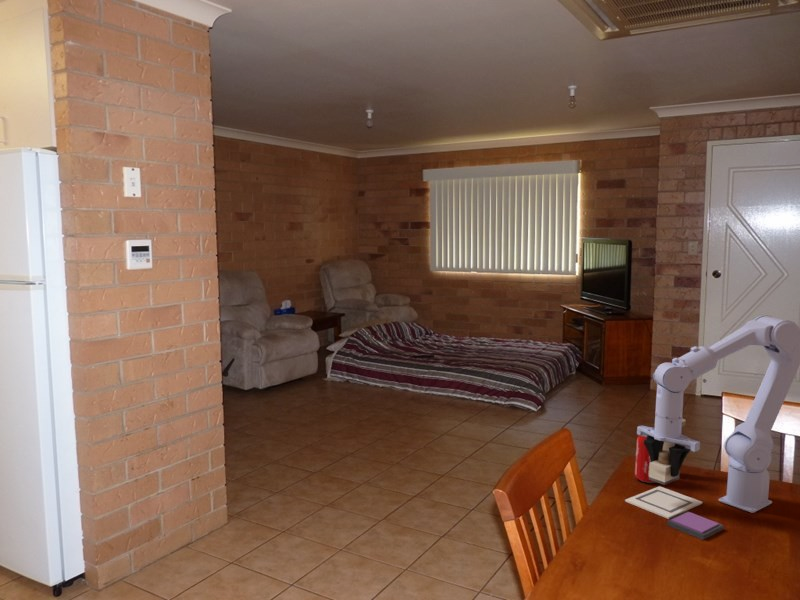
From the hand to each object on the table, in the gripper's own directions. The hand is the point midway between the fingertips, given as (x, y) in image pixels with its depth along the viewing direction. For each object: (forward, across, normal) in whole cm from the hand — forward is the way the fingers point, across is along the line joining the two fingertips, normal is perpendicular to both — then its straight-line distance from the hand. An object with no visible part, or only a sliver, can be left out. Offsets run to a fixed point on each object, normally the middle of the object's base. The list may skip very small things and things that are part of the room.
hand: (665, 472), depth 147 cm
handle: (+8, -9, +17) cm, 21 cm away
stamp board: (+7, 0, 0) cm, 7 cm away
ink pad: (+7, +11, -6) cm, 15 cm away
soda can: (+8, -10, +9) cm, 15 cm away
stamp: (+2, 0, 0) cm, 2 cm away
